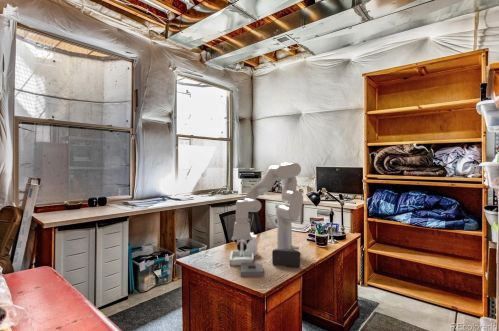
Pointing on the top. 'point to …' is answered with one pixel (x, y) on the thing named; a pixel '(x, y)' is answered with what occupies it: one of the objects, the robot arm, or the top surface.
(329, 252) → the top surface
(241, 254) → the pin
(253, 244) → the corner bracket
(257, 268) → the grey square hole plate
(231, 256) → the parts tray
